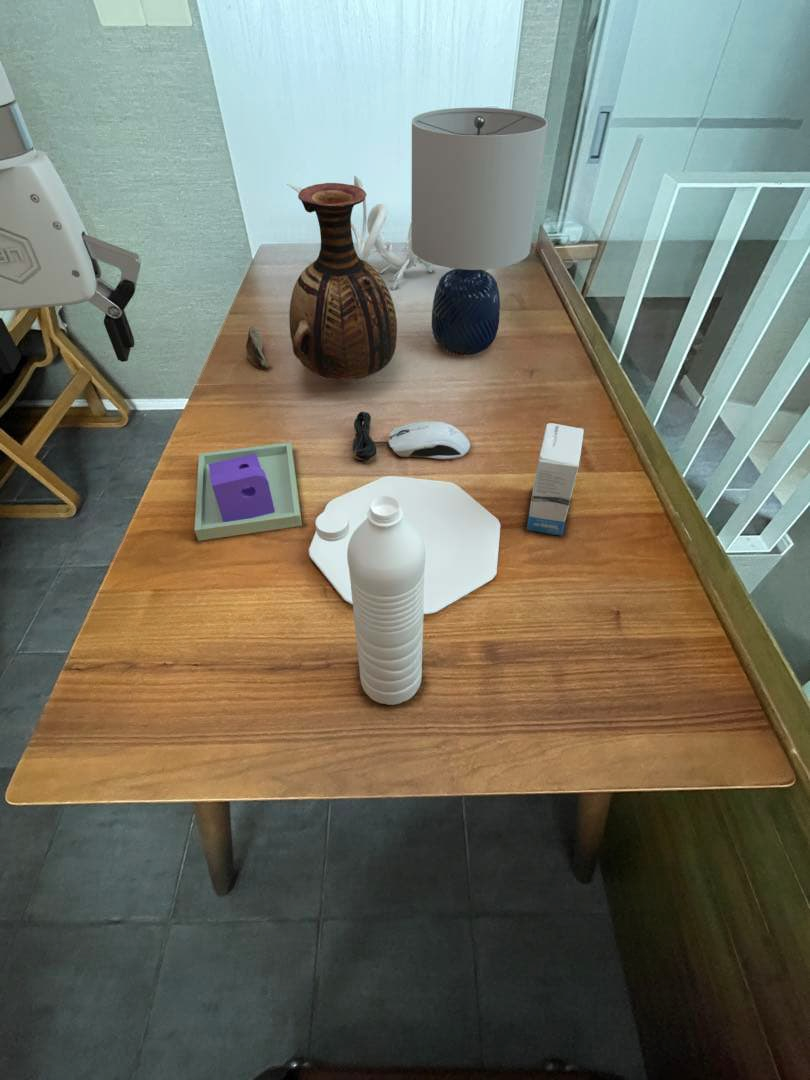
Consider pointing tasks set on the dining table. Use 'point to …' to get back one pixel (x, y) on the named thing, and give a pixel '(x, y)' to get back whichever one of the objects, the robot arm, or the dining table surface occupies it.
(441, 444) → the computer mouse
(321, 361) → the vase
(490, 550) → the plate
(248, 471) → the bracket
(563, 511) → the ink box
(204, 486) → the shallow tray
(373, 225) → the white dragon statue
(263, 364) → the oyster shell
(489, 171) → the lamp
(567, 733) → the dining table surface
